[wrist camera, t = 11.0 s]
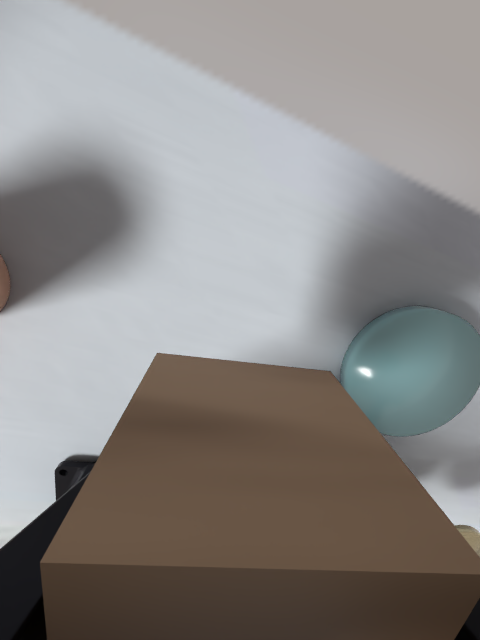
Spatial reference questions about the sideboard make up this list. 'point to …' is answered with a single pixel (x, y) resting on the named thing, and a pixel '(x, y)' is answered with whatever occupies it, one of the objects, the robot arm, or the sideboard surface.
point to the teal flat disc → (412, 369)
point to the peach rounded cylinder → (4, 283)
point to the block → (253, 520)
